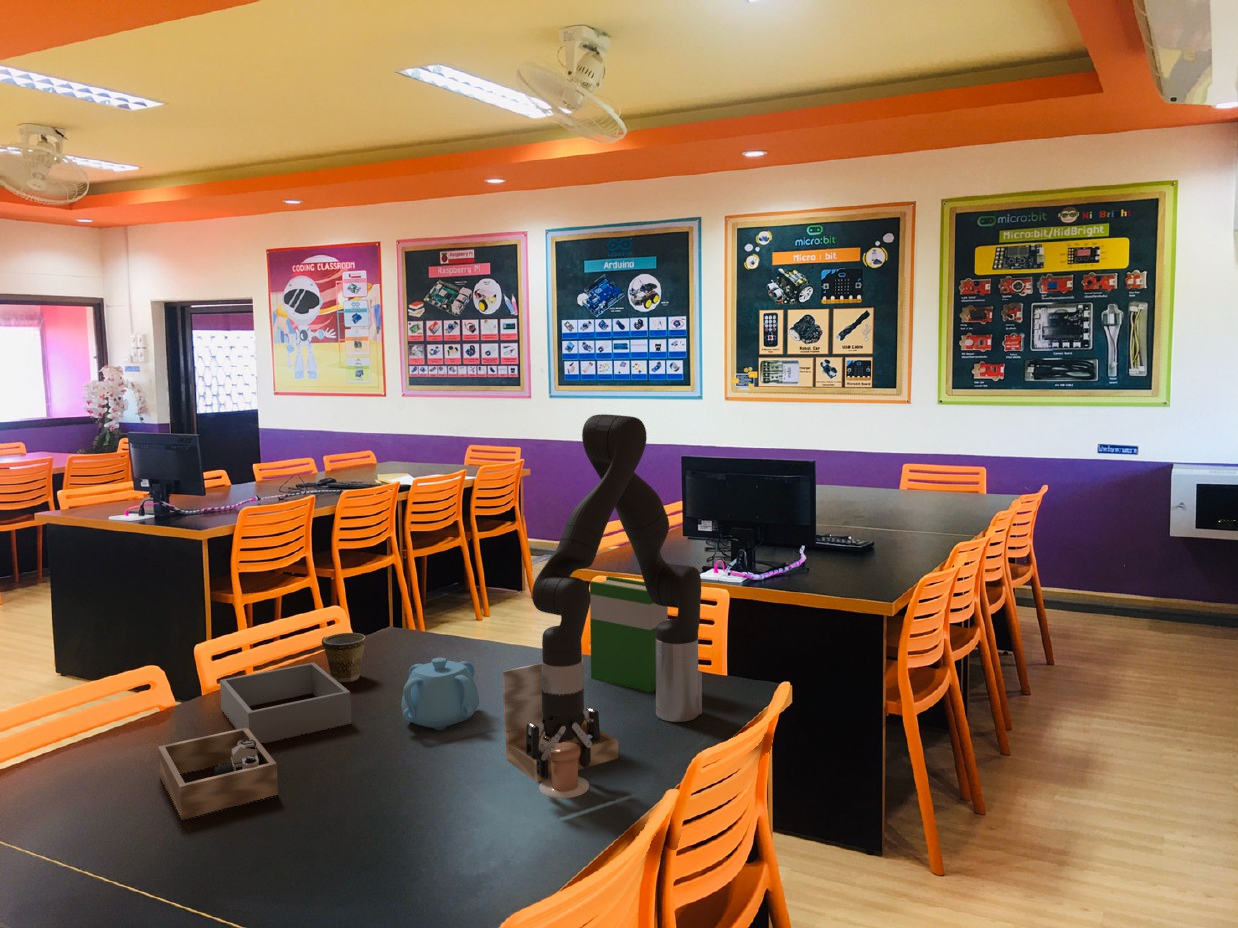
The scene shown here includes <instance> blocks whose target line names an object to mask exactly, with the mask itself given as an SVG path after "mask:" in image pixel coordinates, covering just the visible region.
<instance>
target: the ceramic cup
mask: <svg viewBox="0 0 1238 928" xmlns="http://www.w3.org/2000/svg"><path fill="white" fill-rule="evenodd" d="M365 643H366V636H365V635H364V634H363V633H357V632H343V633H335V634H331V635H328V636H324V637H322V639H321V644H322V647H323V649H324V653H325V655H326V659H327V663H328V669H329V672H330V676H331V677H333V678H334V679H335V680H336V681H337V682H339V683H350V682H354V681H357V680H358V679H359V678H360V673H361V664H362V659H363V658H362V657H363V654H364V650H365V645H366V644H365Z"/></svg>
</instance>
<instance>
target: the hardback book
mask: <svg viewBox="0 0 1238 928" xmlns="http://www.w3.org/2000/svg"><path fill="white" fill-rule="evenodd" d="M589 591H590V597H591V600H590V607H589V610H590V611H589V614H590V615H589V617H590V618H589V619H590V621H589V623H590V624H589V625H590V628H589V629H590V679H593V680H596V681H601V682H604V681H606V682H605V683H608V682H611V683H610V684H613V683H614V684H613V685H618V686H622V687H625V688H629V687H631V688H630V689H633V688H634V689H633V690H637V689H639V690H638V691H641V690H642V692H645V691H646V692H645V693H649V692H651V693H653V692H655V691H656V626H657V625H658V624H659V623H661V622H663V621H666V620H669V617H668V615H669V611H668V610H669V609H668V608H669V607H666V606H660V605H657V604H655V603H654V602H653V601H652V600H651V599H650V597H649V595H648V593H647V590H646V587H645V583H644V581H640V580H634V579H627V578H622V577H621V578H620V577H614V576H609V575H608V576H606V577H605V580H604V581H601V582H599V581H589ZM654 690H655V691H654ZM652 691H653V692H652Z"/></svg>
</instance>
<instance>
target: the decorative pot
mask: <svg viewBox="0 0 1238 928" xmlns="http://www.w3.org/2000/svg"><path fill="white" fill-rule="evenodd" d="M474 675H475V668H474V665H473V664H472V663H471V662H469V661H466V660H462V661H460V662H457V661H453V660H448V659H447V658H445V657H435V658H433V659H431V662H428V663H424V664H423V663H415V664H413V665H411V667H409V669H408V680H407V681H406V683H405V684H404V686H403V689H402V690H403V693H402V698H401V712H402V718H403V719H404V720H405V721H408V722H410V723H412V724H416V725H418V726H422V727H425V728H433V730H435V731H443V730H446V729H447V726H448V727H449V726H451V725H455V724H459V723H461V722H465V721H468V719H469V718H471V717H472V716H473V715H474V714H475V712H476V711H477V709H478V707H479V703H480V697H479V692H478V691H479V690H478V687H477V684H476V682H475V680H474V677H475V676H474Z"/></svg>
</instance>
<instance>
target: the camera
mask: <svg viewBox="0 0 1238 928" xmlns="http://www.w3.org/2000/svg"><path fill="white" fill-rule="evenodd" d="M237 745H238V746H237ZM237 745H236V747H235V748H233V749H232V757H231V760H232V762H231V763H230V762H228V763H227V764H224V765H223V764H221V765H218V766H215V767H213V768H214V769H213V771H214V776H218V775H222V774H226V773H230V772H234V771H238V770H243V769H247V768H251V767H255V766H259V760H258V759H260V758H259V750H257V749H256V747H255V746H256V742H255V741H254V740H252V739H249V738H242V739H240V741H239V742H238V744H237Z"/></svg>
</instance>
